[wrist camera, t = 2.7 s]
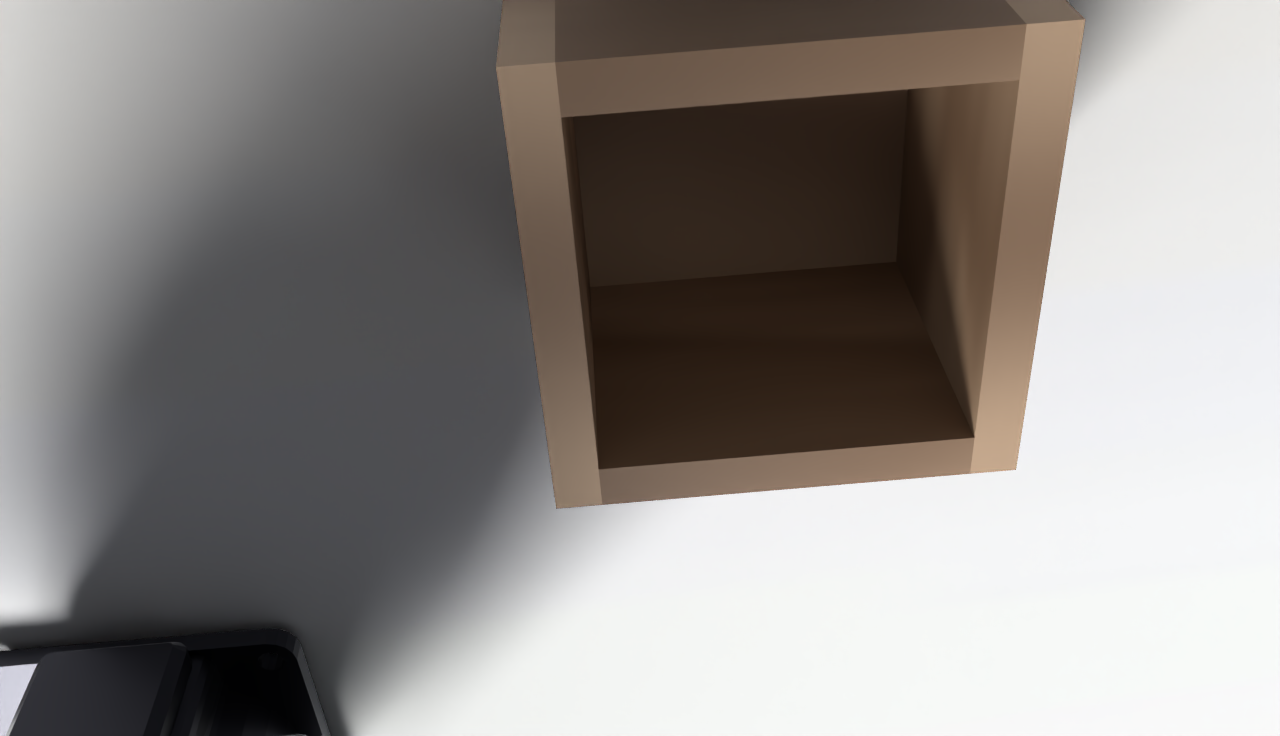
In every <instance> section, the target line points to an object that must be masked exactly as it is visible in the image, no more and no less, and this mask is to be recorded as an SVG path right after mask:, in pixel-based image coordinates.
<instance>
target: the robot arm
mask: <svg viewBox="0 0 1280 736" xmlns="http://www.w3.org/2000/svg"><path fill="white" fill-rule="evenodd" d="M270 653H276V654H278V655H274V654H270ZM0 736H331V734H330V731H329V728H328V725H327V722H326V719H325V716H324V713H323V710H322V707H321V704H320V701H319V698H318V695H317V692H316V689H315V686H314V683H313V680H312V677H311V674H310V671H309V668H308V665H307V662H306V659H305V656H304V652H303V649H302V646H301V644H300V642H299V640H298V639H297V637H295V636H294V635H293V634H291V633H290V632H287V631H284V630H281V629H272V628H267V629H256V630H244V631H232V632H221V633H209V634H197V635H186V636H174V637H162V638H151V639H139V640H127V641H116V642H104V643H92V644H81V645H69V646H57V647H46V648H34V649H22V650H11V651H0Z"/></svg>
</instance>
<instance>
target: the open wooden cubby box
mask: <svg viewBox="0 0 1280 736" xmlns="http://www.w3.org/2000/svg"><path fill="white" fill-rule="evenodd" d="M1084 26H1085V18H1084V17H1083V16H1082V15H1080V14H1079V13H1078V12H1077V11H1076V10H1075V9H1074V8H1073V7H1072V6H1071V5H1070V4H1069V3H1068V2H1067V1H1066V0H503V2H502V12H501V22H500V31H499V41H498V51H497V61H496V72H497V79H498V87H499V94H500V101H501V109H502V116H503V123H504V130H505V138H506V145H507V152H508V160H509V167H510V174H511V182H512V189H513V196H514V204H515V211H516V218H517V226H518V233H519V240H520V247H521V255H522V262H523V269H524V277H525V284H526V291H527V299H528V306H529V313H530V321H531V328H532V335H533V343H534V350H535V357H536V364H537V372H538V379H539V386H540V394H541V401H542V408H543V416H544V423H545V430H546V438H547V445H548V452H549V459H550V467H551V474H552V481H553V489H554V496H555V503H556V509H558V508H570V507H582V506H594V505H605V504H617V503H629V502H641V501H653V500H664V499H676V498H688V497H700V496H711V495H723V494H735V493H747V492H759V491H770V490H782V489H794V488H806V487H818V486H829V485H841V484H853V483H865V482H877V481H888V480H900V479H912V478H924V477H935V476H947V475H959V474H971V473H983V472H994V471H1006V470H1016V466H1017V459H1018V453H1019V446H1020V440H1021V433H1022V427H1023V420H1024V414H1025V408H1026V401H1027V395H1028V388H1029V382H1030V375H1031V369H1032V362H1033V356H1034V349H1035V343H1036V336H1037V330H1038V323H1039V317H1040V310H1041V304H1042V297H1043V291H1044V285H1045V278H1046V272H1047V265H1048V259H1049V252H1050V246H1051V239H1052V233H1053V226H1054V220H1055V213H1056V207H1057V200H1058V194H1059V187H1060V181H1061V174H1062V168H1063V162H1064V155H1065V149H1066V142H1067V136H1068V129H1069V123H1070V116H1071V110H1072V103H1073V97H1074V90H1075V84H1076V77H1077V71H1078V64H1079V58H1080V51H1081V45H1082V39H1083V32H1084Z"/></svg>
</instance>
